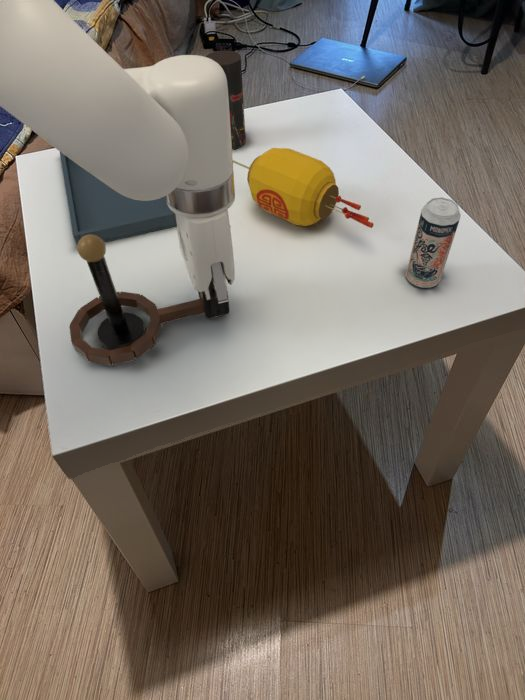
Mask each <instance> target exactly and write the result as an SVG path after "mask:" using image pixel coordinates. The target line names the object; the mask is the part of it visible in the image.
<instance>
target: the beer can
mask: <svg viewBox="0 0 525 700" xmlns="http://www.w3.org/2000/svg"><path fill="white" fill-rule="evenodd" d="M420 210H421V211H420V215H419V219H418V223H417V227H416V232H415V236H414V239H413V243H412V248H411V252H410V255H409V260H408V264H407V268H406V271H405V276H406V277H405V278H407V281H408V282H410V283H411V284H412V285H414V286H416V287H418V288H423V289H425V288H433V287H435V286H437V285H438V284H439V283H440V282H441V280H442V277H443V274H444V270H445V267H446V264H447V261H448V258H449V254H450V252H451V248H452V246H453V243H454V239H455V237H456V232H457V229H458V227H459V223H460V220H461V218H462V217H461V216H462V215H461V211H460V208H459V204H457V203H456V202H455V201H454V200H452V199H450V198H445V197H442V196H441V197H433V198H431V199H430V200H428V201H427V202H426V203H425V205H423V206H422V208H421V209H420Z"/></svg>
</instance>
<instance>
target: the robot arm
mask: <svg viewBox="0 0 525 700" xmlns="http://www.w3.org/2000/svg"><path fill="white" fill-rule="evenodd" d="M69 15H70V14H68V13H67V12H66V11H65V10H64V9H63V8H62V7H61V6H60V5H59V4H58V3H57V1H55V0H0V107H1V108H2V109H3V110H5V111H6V112H7V113H9V114H10V115H11V116H13V117H14V118H16V119H17V120H18V121H19V122H21V123H22V124H23V125H25V126H26V127H27V128H28V129H30V130H31V131H32V132H34V133H35V134H36V135H38V136H39V137H40V138H41V139H43V140H44V141H45V142H47V144H49V145H50V146H52V147H53V148H54V149H56V150H57V151H58V152H59V153H60V152H61V153H63V154H64V155H65V156H67V157H68V158H69V159H71V160H72V161H74V162H75V163H76V164H78V165H79V166H81V167H82V168H83V169H85V170H86V171H88V172H89V173H90V174H92V175H93V176H95V177H96V178H98V179H99V180H100V181H102V182H103V183H105V184H106V185H107V186H109V187H110V188H112V189H113V190H115V191H116V192H118V193H119V194H121V195H123V196H125V197H128V198H131V199H134V200H141V201H150V200H155V199H160V198H162V197H164V196H166V201H167V205H168V207H169V208H170V209H171V210H172V211H173V212H174V213H175V215H176V222H177V226H176V229H177V230H176V231H177V236H178V245H179V249H180V253H181V256H182V259H183V262H184V264H185V268H186V271H187V274H188V275H189V278H190V280H191V283H192V286H193V288H194V289H195V290H196V291H197V293H198V299H201V297H200V292H202V291H204V293H205V294H204V295H202V296H203V302H204V309H205V313H204V315H205V318H206V319H207V320H209V319H214V318H218V317H221V316H225V315H229V314H230V311H231V309H230V301H229V291H228V284H229V285H233V283H234V282H235V277H236V275H235V274H236V273H235V260H234V259H235V258H234V247H233V239H232V233H231V232H232V231H231V230H232V229H231V228H232V227H231V224H230V217H229V209H230V208H231V207H232V205H233V204H234V203H235V201H236V200H235V199H236V189H235V174H234V173H235V172H234V163H233V160H234V159H233V158H234V157H233V150H232V143H231V128H230V113H229V98H228V86H227V78H226V75H225V73H224V71H223V69H222V67H221V66H220V65H219V64H218V63H217V62H215V61H214V60H212V59H210V58H207V57H206V56H203V55H199V54H197V55H196V54H180V55H174V56H170V57H166V58H164V59H162V60H159V61H158V62H156V63H155V64H153V65H150V66H149V65H148V66H141V67H132V68H123V67H122V66H121V65H120V64H119V63H118V62H116V60H115V59H113V57H112V56H111V55H109V54H108V53H107V51H106V50H105V49H103V48H102V46H100V44H98V43H97V42H96V41H95V40H94V39H93V38H92V37H91V36H90V35H89V34H88V33H87V32H86V31H85V30H84V29H83V28H82V27H81V26H80V25H79V24H78V23H77V22H75V20H74V19H72V17H71V16H69ZM227 283H228V284H227ZM212 284H213V285H214V288H213V289H209V285H212Z"/></svg>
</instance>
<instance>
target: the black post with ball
mask: <svg viewBox="0 0 525 700" xmlns="http://www.w3.org/2000/svg"><path fill="white" fill-rule="evenodd" d="M76 247H77V253H78V255H79V257H80V258H81V259H82V260H84V261H86V263H87V266H88V270H89V271H90V274H91V278H92V279H93V282H94V285H95V288H96V290H97V293H98V295H99V296H100V298H101V301H102V303H103V306H104V309H105V310H104V311H105V314H106V316H107V317H106V318H105V319H103V320H102V321H101V323H100V324H99V326H98V327H97V333H96V334H97V338H98V340H99V343H100V345H101V346H102V347H103V349H106V350H113V349H117V348H121V347H125V346H129V345H131V344H132V343H133V342H135V341H136V340H138V339H139V338H140V337H142V336H143V335H144V334H145V332H146V327H145V324H144V321H143V319H142V318H141V317H140V316H139V315H137V314H136V313H132V312H129V311H128V312H127V311H124V310H123V306H121V304H120V301H119V298H118V295H117V292H118V291H117V289H116V287H115V284H114V281H113V278H112V275H111V272H110V269H109V266H108V263H107V260H106V258H105V255H106V251H107V246H106V242H104V241H103V240H102V239H101V238H100V237H98V236H96V235H91V234H90V235H85V236H83V237H82V238H81V239H80V240H79V242H78V245H77V244H76ZM99 296H98V297H99Z"/></svg>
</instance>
